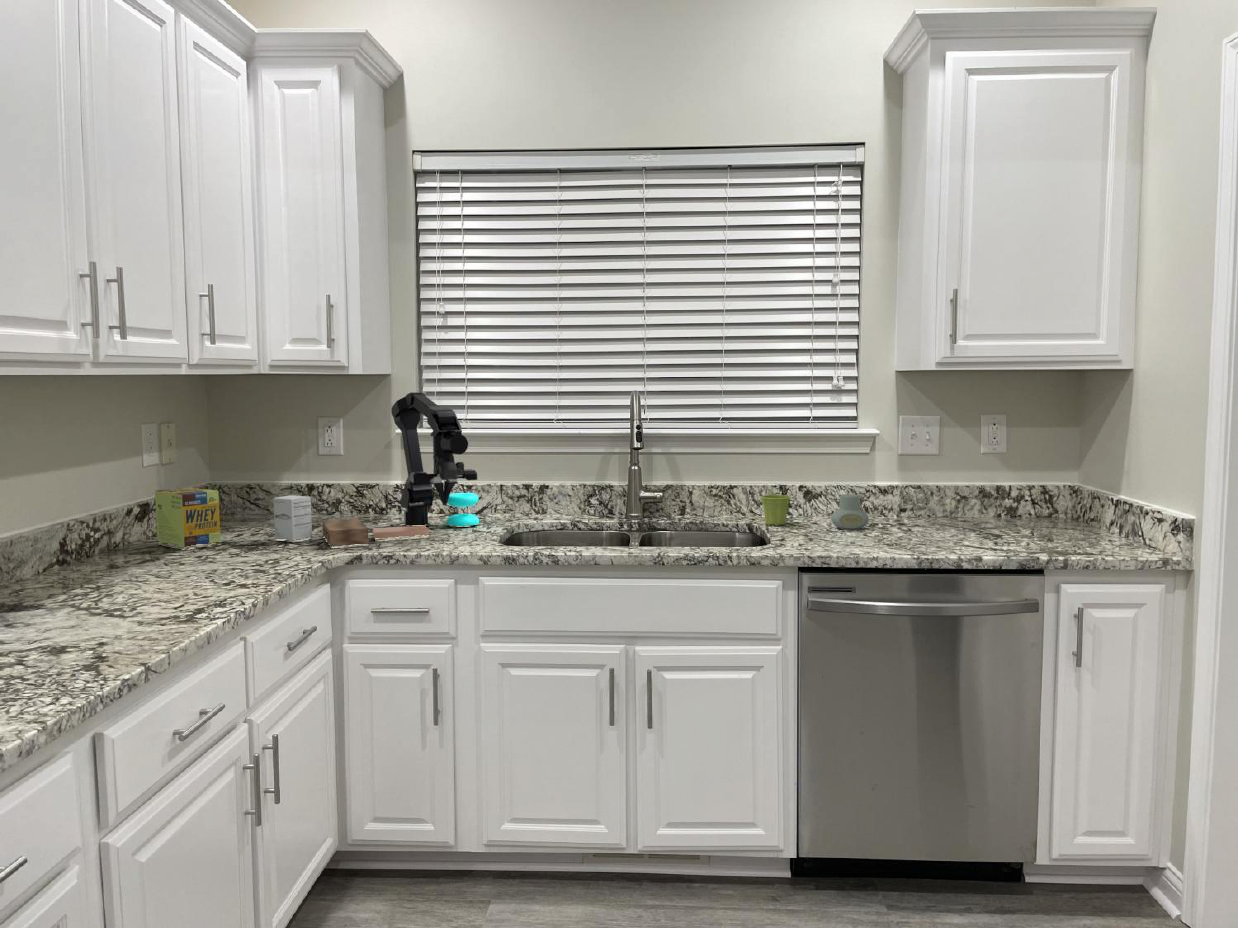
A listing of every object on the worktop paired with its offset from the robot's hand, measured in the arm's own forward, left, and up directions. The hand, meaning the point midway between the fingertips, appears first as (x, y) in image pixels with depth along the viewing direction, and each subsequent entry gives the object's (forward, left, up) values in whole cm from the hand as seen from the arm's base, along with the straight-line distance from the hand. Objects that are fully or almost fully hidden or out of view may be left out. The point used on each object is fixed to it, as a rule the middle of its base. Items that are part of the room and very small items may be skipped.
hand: (444, 505), depth 263 cm
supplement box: (+41, -9, -9) cm, 43 cm away
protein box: (+68, -14, -9) cm, 70 cm away
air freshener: (-112, +45, -9) cm, 121 cm away
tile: (+13, 0, -9) cm, 16 cm away
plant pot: (-97, +28, -9) cm, 101 cm away
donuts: (-9, -13, -9) cm, 18 cm away
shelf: (+28, 0, -9) cm, 30 cm away
